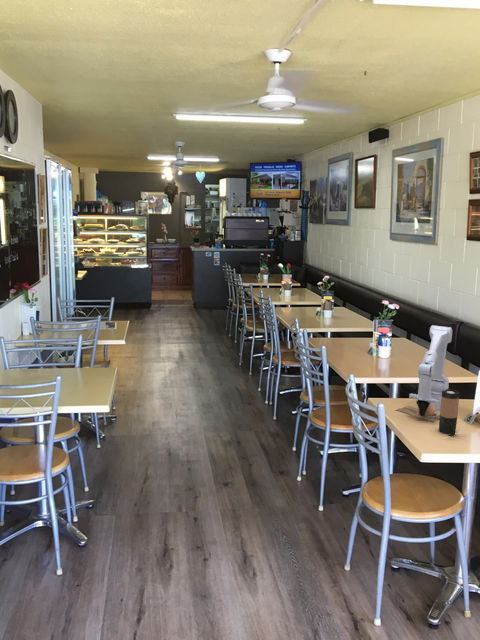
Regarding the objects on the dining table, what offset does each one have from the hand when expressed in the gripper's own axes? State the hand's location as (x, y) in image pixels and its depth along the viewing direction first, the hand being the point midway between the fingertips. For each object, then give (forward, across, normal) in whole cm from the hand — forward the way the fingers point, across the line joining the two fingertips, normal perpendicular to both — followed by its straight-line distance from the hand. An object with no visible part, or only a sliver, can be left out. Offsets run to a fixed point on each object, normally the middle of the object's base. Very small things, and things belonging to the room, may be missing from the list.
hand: (422, 415), depth 295 cm
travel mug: (+3, +16, -6) cm, 17 cm away
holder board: (+3, -5, +7) cm, 9 cm away
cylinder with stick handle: (+2, -1, +4) cm, 5 cm away
